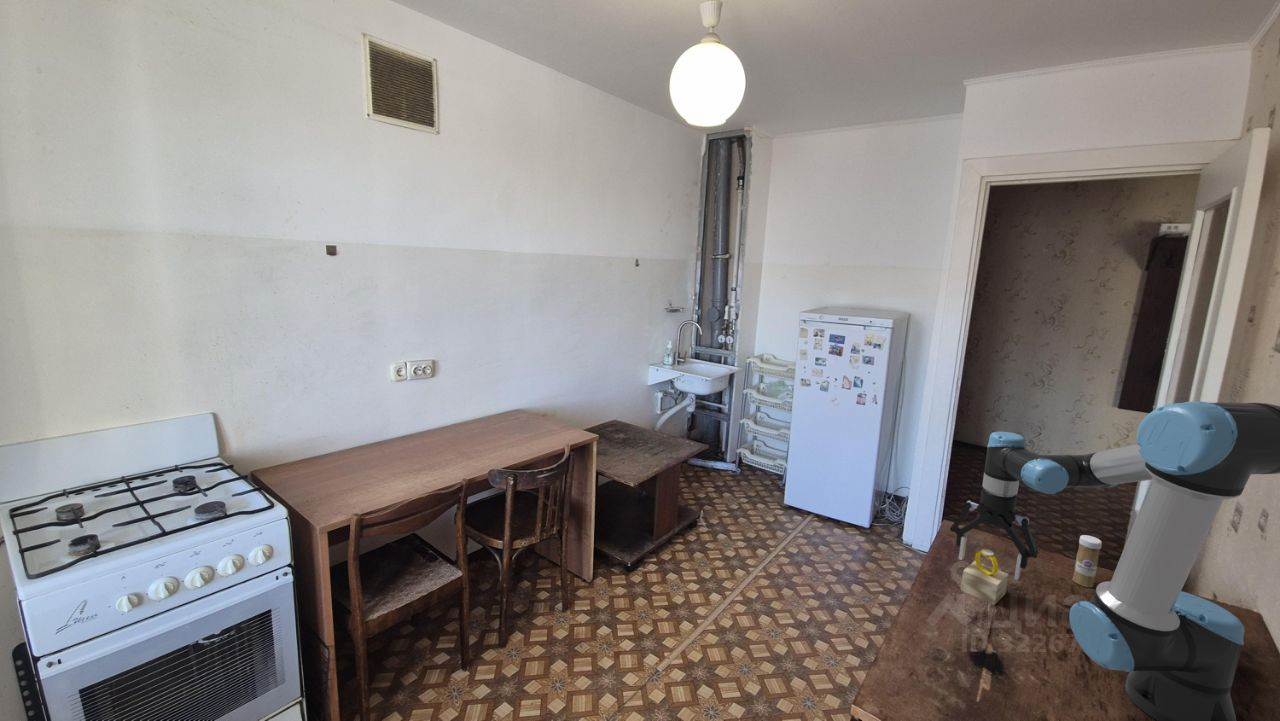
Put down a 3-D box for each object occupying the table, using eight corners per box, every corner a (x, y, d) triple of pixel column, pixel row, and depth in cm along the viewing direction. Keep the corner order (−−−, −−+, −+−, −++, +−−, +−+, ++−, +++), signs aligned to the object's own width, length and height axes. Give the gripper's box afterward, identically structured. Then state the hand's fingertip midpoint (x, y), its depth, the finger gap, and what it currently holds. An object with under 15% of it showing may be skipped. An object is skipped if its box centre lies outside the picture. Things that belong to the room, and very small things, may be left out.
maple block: (1005, 594, 138) (1008, 574, 137) (994, 606, 133) (997, 585, 132) (972, 580, 144) (975, 560, 143) (960, 590, 139) (963, 570, 138)
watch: (999, 577, 135) (1002, 558, 134) (990, 579, 135) (993, 560, 133) (979, 563, 141) (983, 544, 139) (971, 565, 140) (974, 546, 139)
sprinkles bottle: (1076, 586, 141) (1084, 541, 139) (1069, 576, 146) (1077, 533, 143) (1097, 589, 140) (1105, 544, 137) (1089, 580, 144) (1097, 536, 142)
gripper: (1060, 502, 127) (1047, 581, 131) (951, 473, 144) (942, 544, 148) (1056, 511, 122) (1042, 594, 126) (943, 481, 139) (933, 554, 143)
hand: (988, 567), depth 137 cm, fingers open, 12 cm apart
